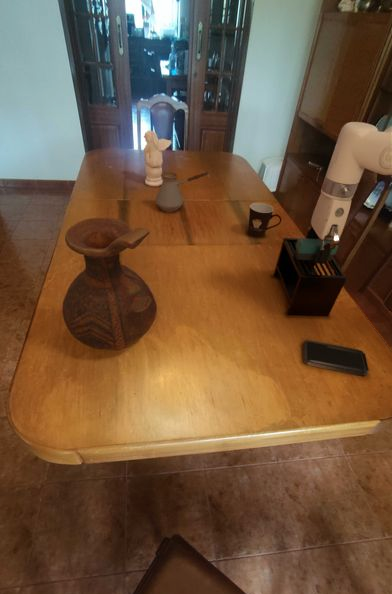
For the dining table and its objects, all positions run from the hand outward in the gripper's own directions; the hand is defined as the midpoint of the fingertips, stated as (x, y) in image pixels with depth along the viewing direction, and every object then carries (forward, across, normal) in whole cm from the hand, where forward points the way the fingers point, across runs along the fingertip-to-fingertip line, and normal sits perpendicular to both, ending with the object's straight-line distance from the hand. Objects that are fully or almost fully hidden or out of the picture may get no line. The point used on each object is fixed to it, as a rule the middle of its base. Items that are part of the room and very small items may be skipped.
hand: (314, 253), depth 87 cm
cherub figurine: (+14, +84, +47) cm, 97 cm away
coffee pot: (+14, +57, +36) cm, 69 cm away
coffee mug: (+14, +37, +6) cm, 40 cm away
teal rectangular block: (+1, 0, 0) cm, 1 cm away
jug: (+14, -18, +53) cm, 58 cm away
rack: (+14, 0, 0) cm, 14 cm away
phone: (+14, -26, -2) cm, 30 cm away
